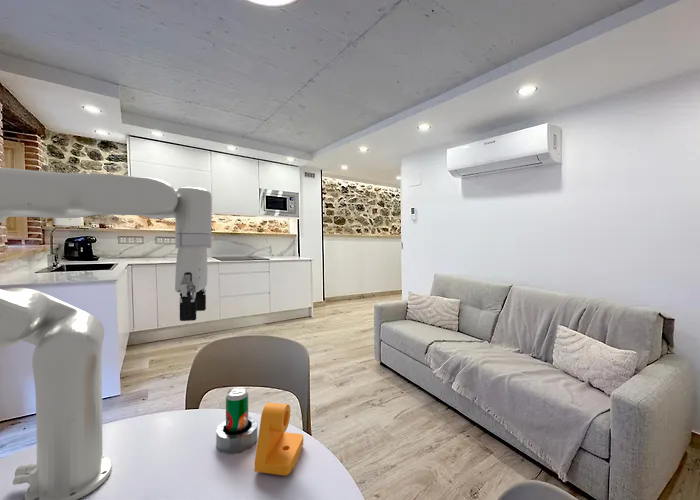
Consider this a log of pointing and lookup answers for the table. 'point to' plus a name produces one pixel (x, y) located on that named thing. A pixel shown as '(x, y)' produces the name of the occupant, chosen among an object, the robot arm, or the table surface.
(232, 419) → the soda can
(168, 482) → the table surface
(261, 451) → the bracket
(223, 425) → the rosette ring
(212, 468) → the table surface
